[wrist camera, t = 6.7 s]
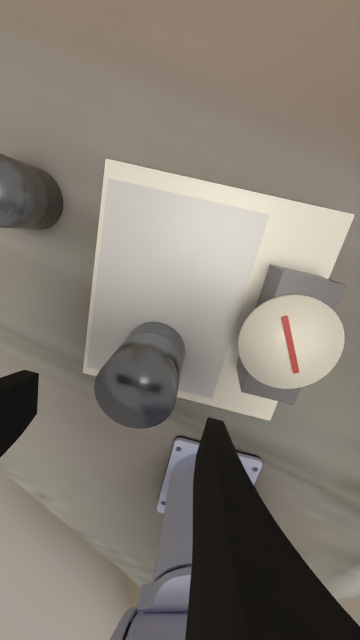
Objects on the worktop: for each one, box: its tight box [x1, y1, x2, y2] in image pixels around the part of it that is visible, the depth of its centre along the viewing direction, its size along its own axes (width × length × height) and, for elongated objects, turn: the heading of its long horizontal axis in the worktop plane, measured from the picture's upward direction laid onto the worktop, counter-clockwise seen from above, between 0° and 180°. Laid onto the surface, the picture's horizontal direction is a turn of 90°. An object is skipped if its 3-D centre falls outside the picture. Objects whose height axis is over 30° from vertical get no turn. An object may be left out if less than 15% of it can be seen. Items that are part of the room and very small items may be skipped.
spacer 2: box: [94, 322, 185, 428], centre depth 15 cm, size 4×4×5 cm
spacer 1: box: [0, 154, 63, 229], centre depth 16 cm, size 4×4×5 cm
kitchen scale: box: [83, 159, 355, 421], centre depth 16 cm, size 14×15×6 cm
